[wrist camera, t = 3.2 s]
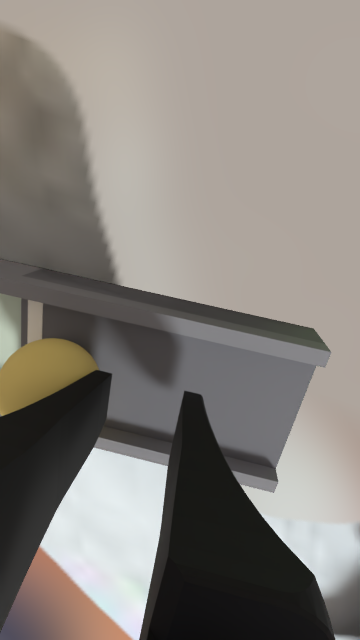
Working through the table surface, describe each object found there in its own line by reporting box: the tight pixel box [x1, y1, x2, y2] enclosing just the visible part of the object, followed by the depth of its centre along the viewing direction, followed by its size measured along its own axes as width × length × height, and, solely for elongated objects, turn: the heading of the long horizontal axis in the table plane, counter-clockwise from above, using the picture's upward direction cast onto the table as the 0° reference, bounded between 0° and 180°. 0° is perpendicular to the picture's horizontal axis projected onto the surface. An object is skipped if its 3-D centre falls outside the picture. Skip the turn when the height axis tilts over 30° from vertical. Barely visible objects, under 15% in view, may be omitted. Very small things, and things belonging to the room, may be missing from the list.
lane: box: [0, 259, 331, 493], centre depth 13 cm, size 16×7×3 cm, turn 79°
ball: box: [0, 338, 99, 416], centre depth 11 cm, size 4×4×4 cm
